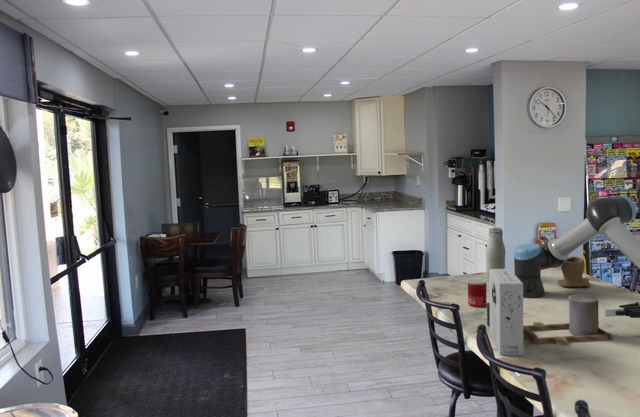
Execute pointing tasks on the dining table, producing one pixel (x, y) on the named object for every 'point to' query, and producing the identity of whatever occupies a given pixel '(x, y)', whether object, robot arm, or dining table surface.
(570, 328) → the pillar candle
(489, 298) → the supplement bottle
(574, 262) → the stone cup
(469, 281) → the canned food
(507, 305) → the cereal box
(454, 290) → the dining table surface
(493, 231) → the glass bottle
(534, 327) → the frame
